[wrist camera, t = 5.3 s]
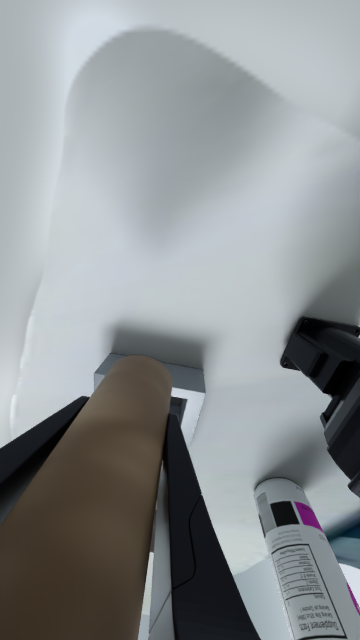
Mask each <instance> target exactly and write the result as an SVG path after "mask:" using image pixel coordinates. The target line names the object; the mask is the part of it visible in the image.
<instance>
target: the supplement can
mask: <svg viewBox="0 0 360 640" xmlns="http://www.w3.org/2000/svg"><path fill="white" fill-rule="evenodd" d="M254 500H255V503H256V507H257V511H258V515H259V519H260V523H261V526H262V530H263V534H264V538H265V542H266V545H267V549H268V553H269V557H270V561H271V564H272V568H273V572H274V576H275V580H276V583H277V587H278V591H279V595H280V599H281V602H282V606H283V610H284V614H285V618H286V622H287V625H288V629H289V633H290V637H291V640H360V607H359V605H358V603H357V601H356V599H355V597H354V595H353V593H352V591H351V589H350V587H349V585H348V583H347V581H346V578H345V576H344V574H343V572H342V570H341V568H340V566H339V564H338V562H337V560H336V558H335V555H334V553H333V551H332V549H331V547H330V545H329V543H328V541H327V539H326V537H325V535H324V533H323V530H322V528H321V526H320V524H319V522H318V520H317V518H316V516H315V514H314V512H313V510H312V508H311V505H310V503H309V501H308V499H307V497H306V495H305V493H304V491H303V490H302V489H301V487H300V486H298V485H296V484H295V483H294V482H292V481H290V480H288V479H282V478H273V479H269V480H266V481H264V482H262V483H260V484H259V485H258V486H257V488H256V491H255V493H254Z"/></svg>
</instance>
